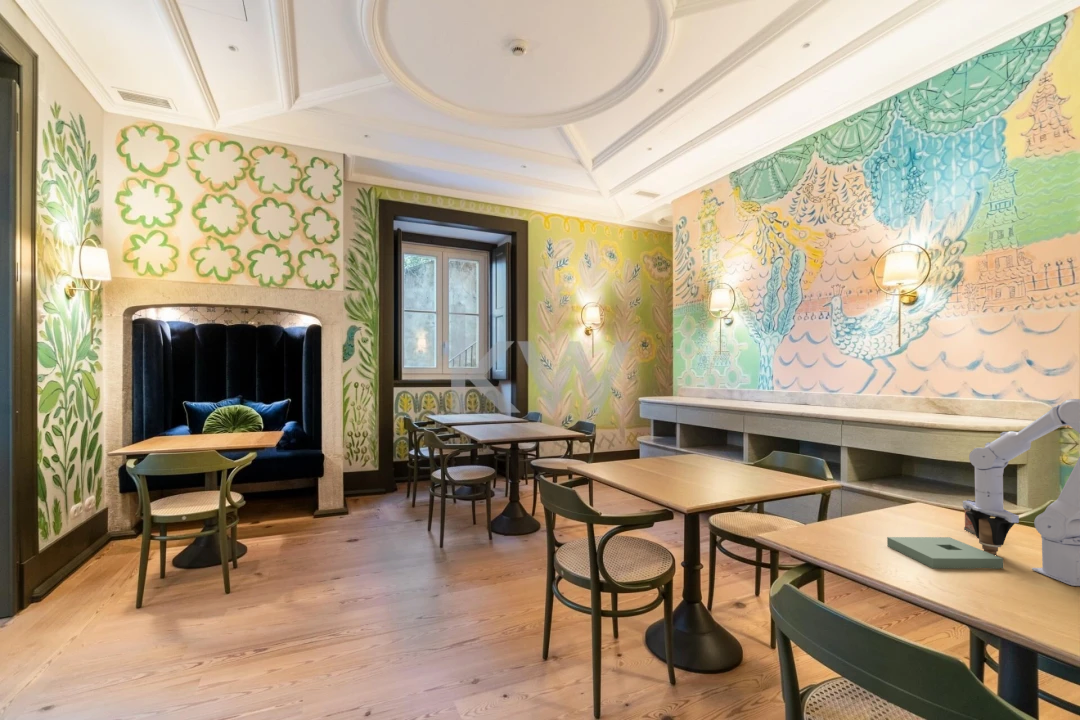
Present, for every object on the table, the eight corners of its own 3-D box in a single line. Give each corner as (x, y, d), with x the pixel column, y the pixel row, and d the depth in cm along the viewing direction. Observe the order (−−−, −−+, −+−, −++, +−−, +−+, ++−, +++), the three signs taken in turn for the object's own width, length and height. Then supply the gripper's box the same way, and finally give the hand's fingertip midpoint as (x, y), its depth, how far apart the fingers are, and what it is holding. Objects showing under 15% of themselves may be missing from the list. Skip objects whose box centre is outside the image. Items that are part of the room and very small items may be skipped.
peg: (1006, 557, 131) (1005, 523, 131) (989, 557, 131) (988, 523, 131) (990, 551, 136) (990, 518, 136) (974, 550, 136) (974, 518, 136)
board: (1003, 568, 123) (1003, 558, 123) (932, 568, 123) (932, 558, 123) (949, 546, 139) (949, 537, 139) (887, 545, 139) (887, 537, 139)
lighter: (994, 538, 146) (994, 504, 147) (983, 538, 147) (982, 504, 147) (971, 529, 154) (971, 497, 155) (960, 529, 155) (960, 497, 155)
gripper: (952, 485, 141) (952, 532, 141) (999, 498, 127) (1000, 551, 126) (976, 485, 141) (977, 532, 141) (1026, 498, 127) (1027, 551, 126)
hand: (989, 541), depth 134 cm, fingers closed on peg, 4 cm apart
